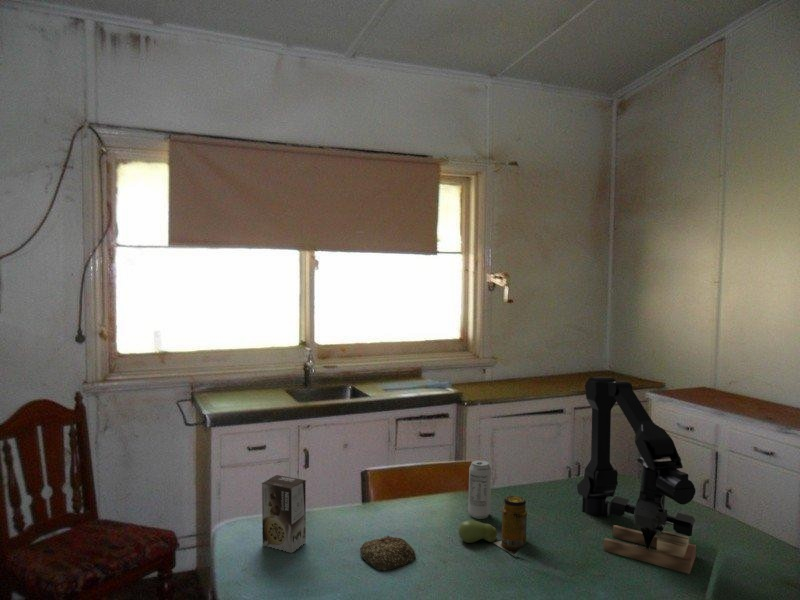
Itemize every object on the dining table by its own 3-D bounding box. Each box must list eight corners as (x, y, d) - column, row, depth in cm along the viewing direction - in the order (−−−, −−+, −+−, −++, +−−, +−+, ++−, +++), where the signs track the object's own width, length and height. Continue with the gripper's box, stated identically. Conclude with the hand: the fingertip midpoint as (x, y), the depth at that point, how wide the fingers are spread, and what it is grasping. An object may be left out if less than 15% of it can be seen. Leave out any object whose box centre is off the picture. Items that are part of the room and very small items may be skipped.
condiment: (515, 537, 153) (516, 491, 153) (538, 551, 146) (539, 503, 145) (493, 543, 150) (494, 497, 149) (515, 558, 142) (516, 509, 142)
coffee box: (306, 542, 148) (307, 479, 147) (291, 554, 143) (291, 488, 142) (276, 535, 152) (277, 473, 151) (261, 546, 146) (261, 482, 145)
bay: (601, 558, 143) (602, 539, 143) (615, 537, 154) (615, 520, 153) (688, 582, 132) (689, 562, 132) (696, 558, 143) (697, 540, 143)
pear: (457, 516, 152) (492, 518, 155) (453, 536, 153) (489, 538, 155) (465, 525, 147) (502, 527, 150) (461, 546, 147) (498, 548, 150)
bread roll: (375, 575, 134) (375, 554, 134) (354, 551, 145) (354, 531, 145) (424, 563, 140) (425, 542, 140) (400, 541, 151) (400, 521, 151)
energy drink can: (493, 513, 167) (494, 461, 166) (484, 521, 162) (485, 467, 161) (473, 508, 171) (475, 457, 170) (464, 516, 165) (465, 463, 165)
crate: (656, 560, 139) (657, 538, 139) (660, 550, 144) (661, 529, 144) (684, 568, 136) (685, 545, 136) (688, 557, 141) (689, 536, 141)
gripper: (604, 486, 140) (599, 549, 142) (691, 508, 130) (684, 577, 131) (616, 473, 149) (611, 532, 151) (698, 493, 139) (692, 557, 140)
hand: (647, 549), depth 143 cm, fingers closed
